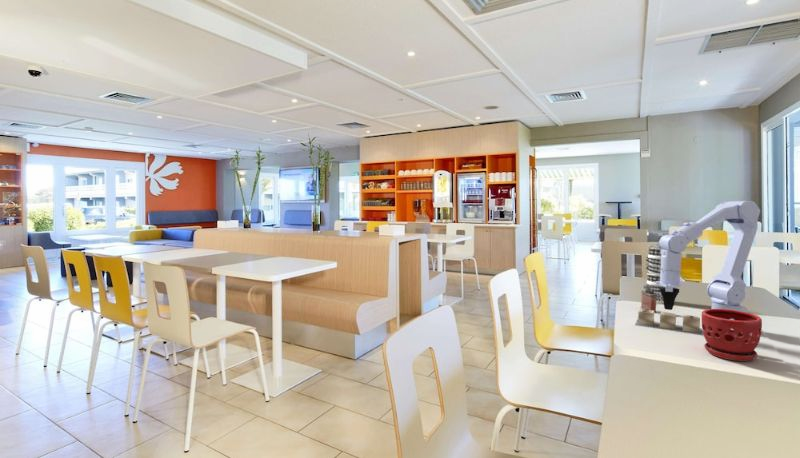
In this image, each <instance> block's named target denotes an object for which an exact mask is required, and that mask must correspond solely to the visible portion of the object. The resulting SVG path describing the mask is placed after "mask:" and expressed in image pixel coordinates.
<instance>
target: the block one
mask: <svg viewBox="0 0 800 458" xmlns="http://www.w3.org/2000/svg"><path fill="white" fill-rule="evenodd" d="M700 325H701V318H700V316H697V315H691V314H683V315H682V326H683V331H689V332H695V333H699V330H700V328H701V326H700Z"/></svg>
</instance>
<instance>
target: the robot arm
mask: <svg viewBox="0 0 800 458" xmlns="http://www.w3.org/2000/svg"><path fill="white" fill-rule="evenodd" d="M760 213H761V209H760V208H759V206H758V205H757V203H756V202H755V201H753V200H736V201H735V200H734V201H733V200H732V201H731V200H725V201H723V202H721V203H719V204H717V205H716V206H715V208H714V209H712V210H711V211H710V212H709V213H706V214H705V215H704V216H703V217H701V218H700V219H699V220H697V221H695V222H694V221H693V222H692V221H690V222H684V223H682V225H683V226H681V227H679V228H678V229H676V230H672V231H671V233H670V234H665V235H664V234H663V235H662V236H661V238H660V239H659V240H658V242H657V245H658V247H659V248H660V250H661V271H660V281H656V284H660V285H662V286H664V287H666V288H660V292H661V294H662V297H663V302H664V303H663V307H664V310H667V311H672V310H673V309H674V304H675V302H676V301H675V300H676V298H677V296H678V295H679V293H680V288H679V287H681V269H682V266H681V265H682V252H684V251H685V250H686V249H687V246H688V245H689V244H690V243H692V242H694V241H695V240H697V239H699V238H700V237H701V236H703V233H704V231H705V230H706V229H708V228H710V227H712V226H714V225H716V224H717V223H719V222H722V221H723V220H725V222H727V223H728V224H730V225H731V226H732V227H733V229H734V233H733V236H732V239H731V242H730V245H729V248H728V251H727V254H726V256H725V259H724V262H723V265H722V268H721V271H720V273H718V274H716V275H715V276H712V280H711V282H710V283H709V284H708V285H707V287H706V293H707V295H708V297H710V301H711V308H710V309H728V310H736V311H742V312H747V313H749V311H748V308H747V307H746V306H744V305H741V303H743V302H744V300H745V298H746V292H745V291H746V286H747V284H746V283H745V281H744V280H743V279H742V275H743V271H744V269H745V266H746V263H747V260H748V258H749V254H750V252H751V248H752V246H753V242H754V240H755V238H756V234H757V231H758V219H759V216H760ZM729 320H734V319H729ZM731 330H733V329H731Z"/></svg>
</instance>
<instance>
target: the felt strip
mask: <svg viewBox="0 0 800 458" xmlns="http://www.w3.org/2000/svg"><path fill="white" fill-rule="evenodd" d="M634 326H638V327H644V328H651V329H657V330H664V331H671V332H676V333H685V334H689V335H690V334H691V335H697V336H703V330H702V327H700V330H699V333H695V332H689V331H683V325H679V324H676V330H675V329H668V328H662V327H660V321H659V322H658V321H654V324H653V326H648V325H641V324H638V318H637V319H636V320H635V323H634Z"/></svg>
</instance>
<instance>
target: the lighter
mask: <svg viewBox="0 0 800 458" xmlns="http://www.w3.org/2000/svg"><path fill="white" fill-rule="evenodd" d="M643 289H644V290H641V306H640V309H641V308H642V309H645V310H652V311H654V314H656V313H657V303H656V297H657V294H655V293H654V288H653V287H649V286H646V284H644V285H643Z"/></svg>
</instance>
